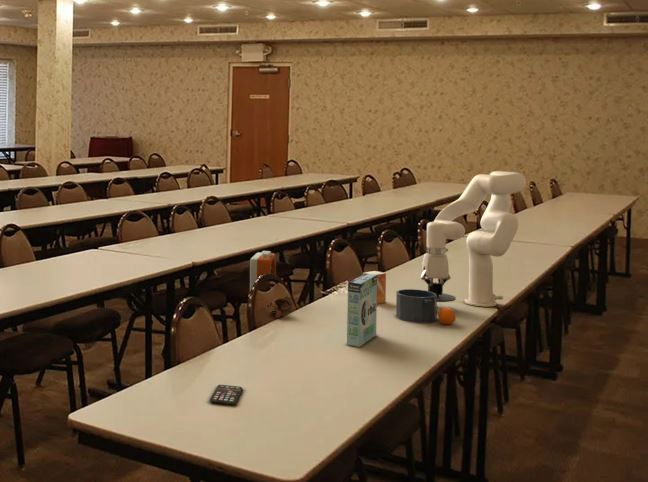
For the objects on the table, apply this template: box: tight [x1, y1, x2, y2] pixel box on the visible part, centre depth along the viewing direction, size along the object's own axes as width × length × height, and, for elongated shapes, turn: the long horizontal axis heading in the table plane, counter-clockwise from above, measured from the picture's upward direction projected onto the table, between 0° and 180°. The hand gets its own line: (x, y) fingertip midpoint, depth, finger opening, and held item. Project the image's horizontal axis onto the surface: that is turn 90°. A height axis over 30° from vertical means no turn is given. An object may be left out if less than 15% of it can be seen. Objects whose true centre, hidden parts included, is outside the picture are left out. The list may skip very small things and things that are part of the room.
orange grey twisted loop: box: [270, 297, 293, 319], centre depth 337 cm, size 12×10×8 cm
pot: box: [395, 288, 438, 324], centre depth 334 cm, size 15×21×10 cm
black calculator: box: [209, 384, 243, 406], centre depth 242 cm, size 7×1×15 cm
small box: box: [362, 270, 387, 305], centre depth 362 cm, size 8×6×13 cm
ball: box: [437, 307, 456, 326], centre depth 324 cm, size 6×6×6 cm
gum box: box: [346, 272, 378, 348], centre depth 301 cm, size 20×5×23 cm, turn 144°
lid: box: [433, 281, 457, 303], centre depth 350 cm, size 16×16×7 cm
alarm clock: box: [249, 250, 277, 292], centre depth 373 cm, size 18×9×21 cm, turn 160°
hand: (435, 294), depth 350 cm, fingers closed on lid, 3 cm apart
